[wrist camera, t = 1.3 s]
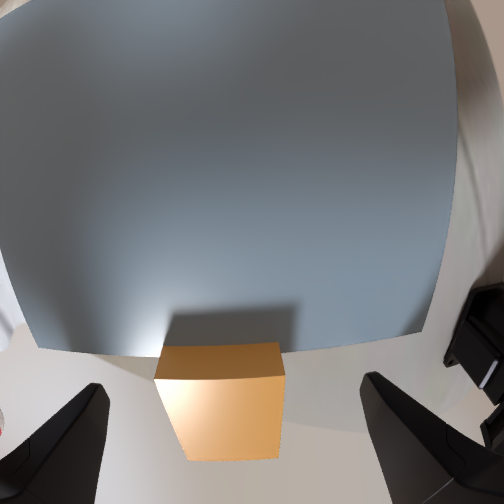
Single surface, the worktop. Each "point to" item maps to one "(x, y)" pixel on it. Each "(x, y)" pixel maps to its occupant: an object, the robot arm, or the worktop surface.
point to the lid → (225, 188)
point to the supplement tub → (1, 422)
